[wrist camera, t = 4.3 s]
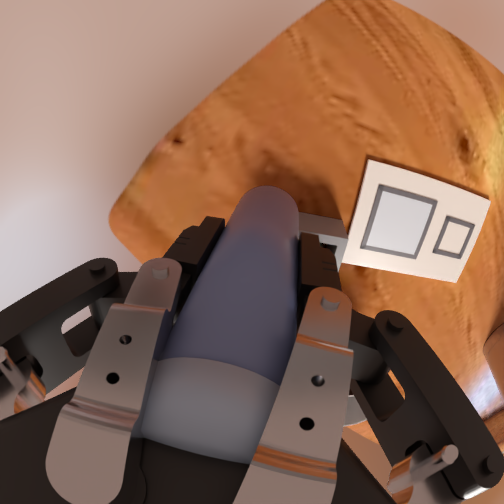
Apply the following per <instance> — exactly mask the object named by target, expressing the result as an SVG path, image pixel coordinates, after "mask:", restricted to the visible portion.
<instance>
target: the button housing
mask: <svg viewBox="0 0 504 504" xmlns="http://www.w3.org/2000/svg"><path fill="white" fill-rule="evenodd" d="M301 232H305V233H310V234H316V235H319V242H320V243H326V244H327V249H330V251H331V252H332V253H333V254H334V255H335V257H336V262H337V268H338V271H339V268H340V265H341V262H342V259H343V256H344V253H345V250H346V246H347V243H348V240H349V239H348V236H347V233H346V230H345V227H344V224H343V221H342V220H339V219H334V218H329V217H324V216H318V215H313V214H308V213H302V212H299V236H300V233H301Z"/></svg>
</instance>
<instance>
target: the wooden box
mask: <svg viewBox="0 0 504 504" xmlns="http://www.w3.org/2000/svg"><path fill="white" fill-rule="evenodd" d="M484 423H485V425H486V427H487V428H488V430H489V431H490V433H491V435H492V436H493V438H494V440H495V441H496V443H497V445H498V446H499V448H500V450H501V452H502V454H503V453H504V409H503V410H501V411H500V412H498V413H497V414H495V415H494V416H492V417H491V418H489V419H487V420H486V421H484Z"/></svg>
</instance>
